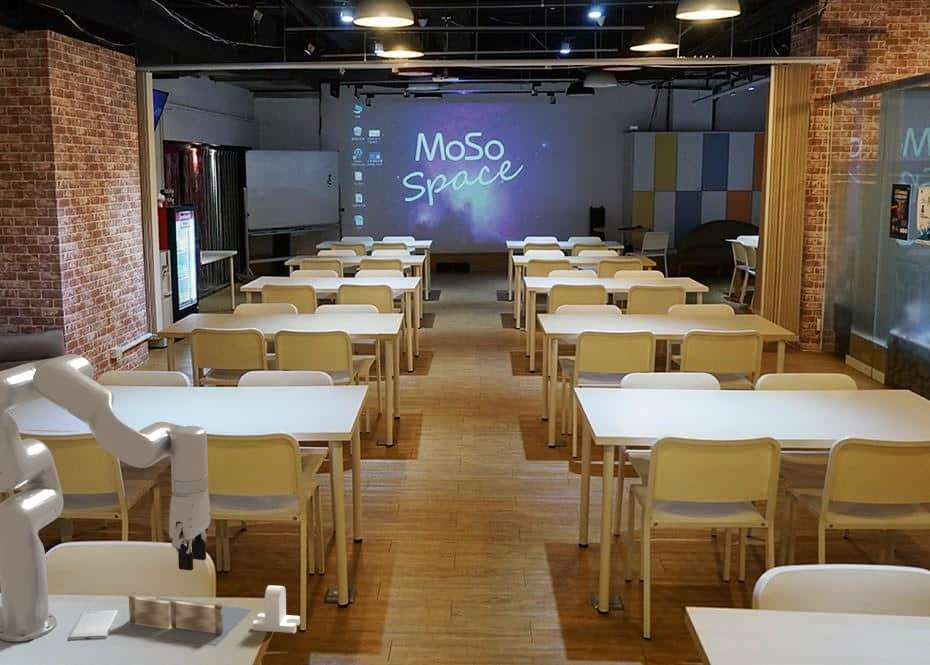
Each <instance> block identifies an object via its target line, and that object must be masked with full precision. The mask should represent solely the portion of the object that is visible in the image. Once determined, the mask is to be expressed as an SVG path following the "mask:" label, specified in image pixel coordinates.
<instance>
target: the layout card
mask: <svg viewBox="0 0 930 665" xmlns="http://www.w3.org/2000/svg"><path fill="white" fill-rule="evenodd" d="M155 600H162V601H170V602H171V601H172V600H176V601H182V602H189V603H197V604H204V605H212V606H215V604H213V603H205V602H197V601H189V600H188V601H187V600H181V599H174V598H166V597H160V596H158V597H156V598H155ZM252 611H253V609H250V608H241V607H234V606H228V605H227V606H226V605H223V607H222V614H223V633H221V634H216V633H212V632H205V631H198V630H191V629H184V628H177V627H174V628H173V627H171V626H170V627H169V628H166V627H159V626H152V625H144V624H137V623H135V624H131V623H130V619H129V620H127V621H126V622H125V623H123V625H121V626H120V627H118V628H117V629H116V630H115V632H118V633H124V634H131V635H139V636H146V637H153V638H160V639H166V640H167V639H168V640H174V641H181V642H188V643H194V644H195V643H196V644H201V645H202V644H203V645H208V646H209V645H210V646H218V644H219V643H221V641H223V640H224V639H225V637H226V636H227V635H229V633H231V632H232V630H233V629H235V628H236V627H237V626H238V625H239V624H240V623H241V622H242V620H244V619H245V617H247V616H248V615H249V614H250V613H251V612H252ZM170 612H171V603H170Z"/></svg>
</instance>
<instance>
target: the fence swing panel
mask: <svg viewBox="0 0 930 665" xmlns="http://www.w3.org/2000/svg"><path fill="white" fill-rule="evenodd" d="M176 600H177V599H175V600H172V601H171V602H170V603H171V627H173V628H174V627H177V628H184V629H191V630H198V631H205V632H212V633H216V634H221V633H223V614H222V607H223V606H224V605H223V603H221V602H220V603H215V604H214V605H215V606H212V605H204V604H197V603H189V602H182V601H176Z"/></svg>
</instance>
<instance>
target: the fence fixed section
mask: <svg viewBox="0 0 930 665" xmlns="http://www.w3.org/2000/svg"><path fill="white" fill-rule="evenodd" d="M155 599H156V598H155ZM155 599H153V598H147V597H146V598H145V597H138V594H135V593H134V594H129V596H128V610H129V612H128V613H129V620H130V623H131V624H135V623H137V624H144V625H152V626H159V627H166V628H169V627H170V626H171V612H170V601H162V600H155Z"/></svg>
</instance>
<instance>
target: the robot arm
mask: <svg viewBox="0 0 930 665" xmlns="http://www.w3.org/2000/svg"><path fill="white" fill-rule="evenodd" d="M94 373H95V372H94V368H93V366H92V364H91V362H90V361H89V360H87V359H86V358H85V357H83V356H81V355H80V354H76V353H75V354H74V353H70V354H65V355H61V356H56V357H53V358H47V359H42V360H41V359H40V360H37V361H32V362H27V363H24V364H20V365H18V366H14V367H10V368H8V369H4V370H0V493H9V492H12V491H15V490H18V489H20V488H21V491H19V492H17V493H15V494H13V495H11V496H10V497H7V498H6V499H5V500H3V501H2V502H1V503H0V598H1V605H0V640H2V641H5V642H15V643H17V642H27V641H31V640H32V641H33V640H35V639H39V638H41V637H44V636H46V635H48V634H50V633H51V632H52V631H53V630H55V628H56V627H57V624H58V622H57V617H56V616H55V615H54V614H52V613H50V611H49V597H48V596H49V594H48V592H49V591H48V579H47V578H48V577H47V576H48V574H47V561H46V551H45V547H44V544H43V542H42V541H41V539H40V537H39V531H40V530H42V529H43V528H44V527H46V526H47V525H49V524H50V523H52V522H54V521H55V520H57V519H58V518H59V516H60V515H61V514H62V512H63V509H64V495H63V490H62V487H61V482H60V478H59V475H58V470H57V467H56V463H55V460H54V457H53V454H52V452H51V450H50V449H49V447H48V446H47V445H46V444H45V443H44V442H43V441H41V440H39V439H36V438H24V439H22V438H21V435H20V429H19V426H18V424H17V423H16V420H15V419H14V418H13V417H12V416H11V415H10V414H9V411H11V410H13V409H16V408H18V407H21V406H23V405H26V404H29V403H31V402H34V401H36V400H40V399H43V398H44V399H46V400H48V401H49V402H51V403H52V404H54V405H55V406H57V407H59V408H61V409H62V410H64V411H65V412H67V413H69V414H71V415H72V416H73V417H75V418H77V419H79V421H81V422H83V423H85V424H86V425H87V426H88V427H89V430H90V432H91V434H92V436H93V438H94V439H95V440H96V442H97V444H99V446H100V447H101V448H102V449H103V450H105V451H106V452H108V453H109V454H110V455H112V456H114V457H115V458H117V459H118V460H120V461H121V462H123V463H125V464H126V465H129V466H132V467H134V468H140V469H143V468H144V469H145V468H149V467H151V466H153V465H154V464H156V463H158V462H160V461H161V460H162V459H164V458H167V457H170V468H171V470H170V472H171V493H172V494H171V496H170V497H171V498H170V504H169V520H168V526H169V528H168V534H169V538H170V539H171V540H172V541H171V546H172V547H173V548H174V549H175V550H176V553H177V556H178V557H177V559H178V561H177V562H178V569H179V570H183V571H193V570H194V560H197V561H198V560H199V561H205V560H207V543H206V542H207V540H208V537H207V533H208V532H209V530H208V529H209V526H210V524H211V505H210V504H211V503H210V494H209V469H208V468H209V464H208V463H209V461H208V435H207V431H206V430H205V429H204V428H203V427H201V426H197V425H183V426H182V425H178V424H175V423H172V422H166V421H156V422H154V423H151V424H150V425H148V426H145V427H144V428H141V429H139V430H137V429H134V428H133V427H131V426H129V425H127V424H126V423H124V422H123V421H122V420H121V419H119V417H118V416H116V414H115V413H114V411H113V405H114V401H115V396H114V393H113V391H111V390H110V389H108V388H107V387H105V386H104V385H102V384H100V383H99V382H97V381H96V380H94V375H95V374H94ZM183 536H185V537H183ZM183 542H186V544H185V543H183Z"/></svg>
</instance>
